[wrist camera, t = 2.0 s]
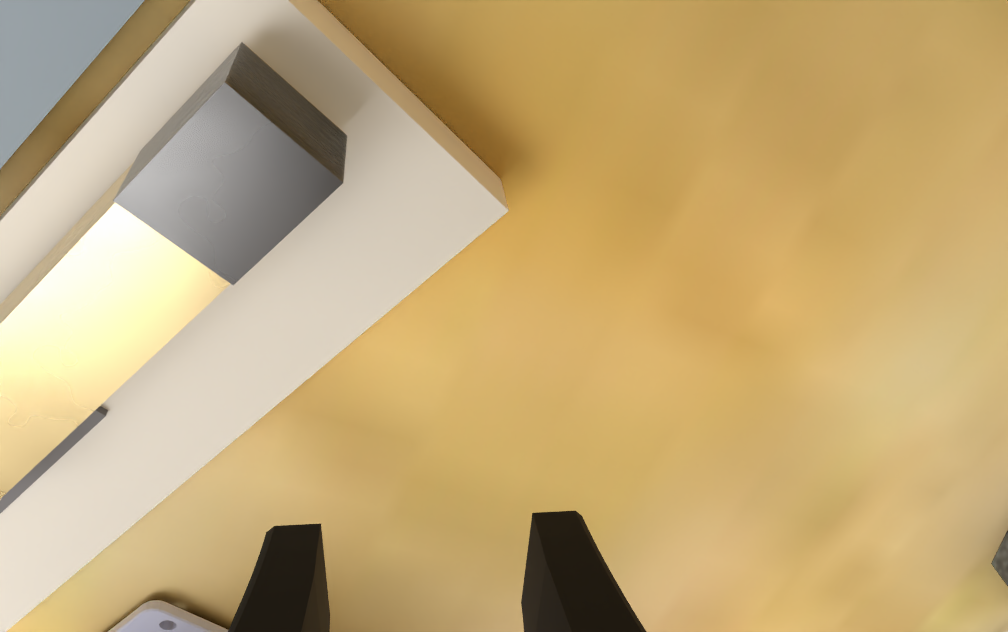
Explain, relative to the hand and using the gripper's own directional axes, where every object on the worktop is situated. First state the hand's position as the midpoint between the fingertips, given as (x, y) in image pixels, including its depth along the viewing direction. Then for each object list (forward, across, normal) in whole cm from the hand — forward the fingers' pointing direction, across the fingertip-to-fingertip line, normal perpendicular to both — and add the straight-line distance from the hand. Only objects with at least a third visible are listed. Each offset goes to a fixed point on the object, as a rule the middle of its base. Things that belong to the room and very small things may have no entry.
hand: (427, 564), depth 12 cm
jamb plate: (+10, +8, +4) cm, 14 cm away
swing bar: (+8, +7, +1) cm, 11 cm away
